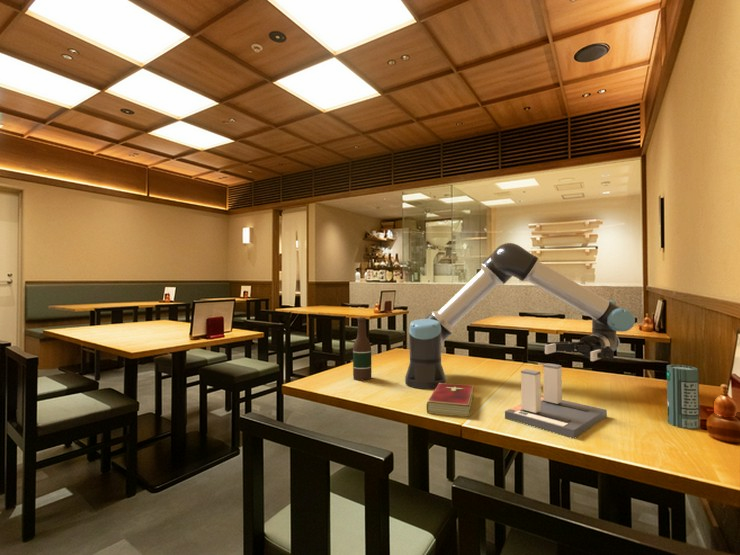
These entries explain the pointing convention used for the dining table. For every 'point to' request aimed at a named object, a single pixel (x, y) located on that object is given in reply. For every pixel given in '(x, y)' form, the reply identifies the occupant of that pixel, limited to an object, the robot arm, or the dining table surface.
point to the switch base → (552, 410)
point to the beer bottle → (362, 353)
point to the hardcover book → (451, 399)
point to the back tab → (552, 383)
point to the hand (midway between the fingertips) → (567, 352)
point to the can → (683, 396)
